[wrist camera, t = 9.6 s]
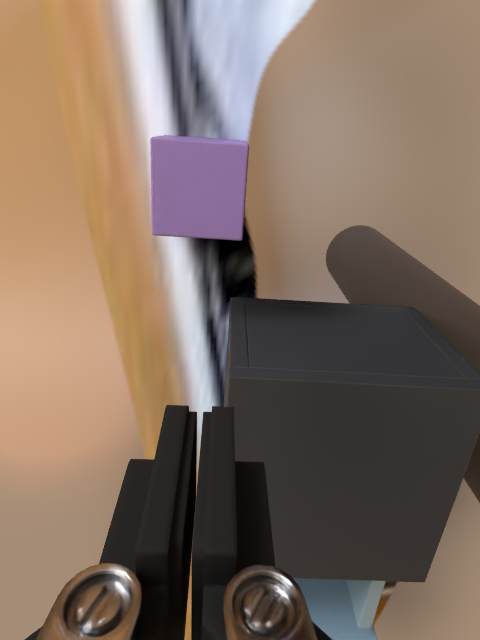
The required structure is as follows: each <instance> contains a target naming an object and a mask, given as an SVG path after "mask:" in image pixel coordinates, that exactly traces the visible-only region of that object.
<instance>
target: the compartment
mask: <svg viewBox="0 0 480 640" xmlns="http://www.w3.org/2000/svg"><path fill="white" fill-rule="evenodd" d="M224 407H234V437H235V461H248V462H264V465H265V473H266V483H267V492H268V501H269V511H270V520H271V529H272V539H273V548H274V557H275V567H276V568H280V569H281V570H283V571H284V572H286V573H287V574H289V575H290V576H291V577H292V578H303V579H335V580H367V581H399V582H402V581H403V582H425V579H426V577H427V574H428V571H429V569H430V566H431V563H432V560H433V558H434V555H435V552H436V550H437V547H438V544H439V542H440V539H441V536H442V534H443V531H444V528H445V525H446V522H447V520H448V517H449V514H450V512H451V509H452V507H453V504H454V501H455V498H456V496H457V493H458V490H459V487H460V485H461V482H462V479H463V477H464V474H465V471H466V469H467V466H468V463H469V461H470V458H471V455H472V452H473V450H474V447H475V444H476V442H477V439H478V436H479V434H480V375H479V374H478V373H477V372H476V371H475V370H474V369H473V368H472V367H471V366H470V365H469V364H468V363H467V362H466V361H465V360H464V359H463V358H462V357H461V356H460V355H459V354H458V353H457V352H456V351H455V350H454V349H453V348H452V347H451V346H450V345H449V344H448V343H447V342H446V341H445V340H444V338H443V337H442V336H441V335H440V334H439V333H438V332H437V331H436V330H435V329H434V328H433V327H432V326H431V325H430V324H429V323H428V322H427V321H426V320H425V319H424V318H423V317H422V316H421V315H420V314H419V313H418V312H417V311H416V310H415V309H414V308H413V307H397V306H380V305H362V304H345V303H327V302H310V301H293V300H276V299H259V298H241V297H231V299H230V315H229V331H228V347H227V363H226V378H225V394H224Z"/></svg>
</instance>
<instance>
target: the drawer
mask: <svg viewBox="0 0 480 640" xmlns="http://www.w3.org/2000/svg"><path fill="white" fill-rule="evenodd" d="M293 579H294V580H295V581H296V583H297V584H298V585H299V587H300V589H301V591H302V593H303V595H304V597H305V600H306V604H307V607H308V610H309V613H310V617H311V620H312V621H313V622H314V623H315V624H316V625H317V626H318V627H319V628H320V629H321V630H322V631H324V632H325V633H326V634H327V635H328V636H329V637H330V638H331V639H332V640H377V636H376V633H375V630H374V626H373V620H374V617H375V614H376V610H377V607H378V604H379V601H380V598H381V594H382V591H383V588H384V585H385V582H386V581H367V580H335V579H303V578H293Z"/></svg>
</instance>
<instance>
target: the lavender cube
mask: <svg viewBox="0 0 480 640" xmlns="http://www.w3.org/2000/svg"><path fill="white" fill-rule="evenodd" d="M248 153H249V145H248V144H247V142H246V141H240V140H226V139H212V138H199V137H185V136H171V135H164V136H157V137H152V138H151V195H152V234H153V235H160V236H176V237H192V238H208V239H223V240H239V241H241V240H242V238H243V224H244V210H245V196H246V182H247V167H248Z"/></svg>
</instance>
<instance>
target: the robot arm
mask: <svg viewBox="0 0 480 640" xmlns="http://www.w3.org/2000/svg"><path fill="white" fill-rule="evenodd" d="M196 454H197V412H189V406H178V405H167V406H166V409H165V413H164V418H163V422H162V427H161V432H160V436H159V441H158V445H157V450H156V455H155V459H154V460H148V459H131V460H130V461H129V464H128V466H127V470H126V473H125V477H124V480H123V483H122V487H121V491H120V494H119V497H118V501H117V504H116V507H115V511H114V514H113V518H112V521H111V525H110V528H109V532H108V535H107V538H106V542H105V545H104V549H103V553H102V556H101V559H100V563H99V564H98V565H95V566H91V567H88V568H87V569H85V570H83V571H81V572H80V573H78V574H77V575H76V576H75V577H73V578H72V579H71V580H70V581H69V582H68V583H67V584H66V585H65V587H64V588H63V589H62V591H61V592H60V594H59V595H58V597H57V599H56V601H55V603H54V605H53V607H52V609H51V611H50V613H49V615H48V617H47V619H46V621H45V623H44V625H43V626H42V627H41V628H40V629H38V630H37V631H36V632H34V633H33V634H31V635H30V636H29V637H28V638H26V639H25V640H184V636H185V624H186V612H187V600H188V588H189V576H190V564H191V553H192V640H332V639H331V638H330V637H329V636H328V635H327V634H326V633H325V632H324V631H322V630H321V629H320V628H319V627H318V626H317V625H316V624H315V623H314V622H313V621H312V620H311V617H310V613H309V610H308V607H307V604H306V600H305V597H304V595H303V593H302V591H301V589H300V587H299V585H298V584H297V583H296V581H295V580H294V579H293V578H292V577H291V576H290V575H289V574H287V573H286V572H284V571H283V570H281V569H280V568H276V567H275V557H274V548H273V539H272V529H271V520H270V511H269V501H268V492H267V483H266V473H265V465H264V462H248V461H235V437H234V407H217V406H212V412H204V413H203V424H202V436H201V448H200V460H199V472H198V484H197V496H196ZM195 505H196V508H195ZM194 517H195V520H194ZM193 529H194V532H193ZM192 541H193V546H192Z"/></svg>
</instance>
